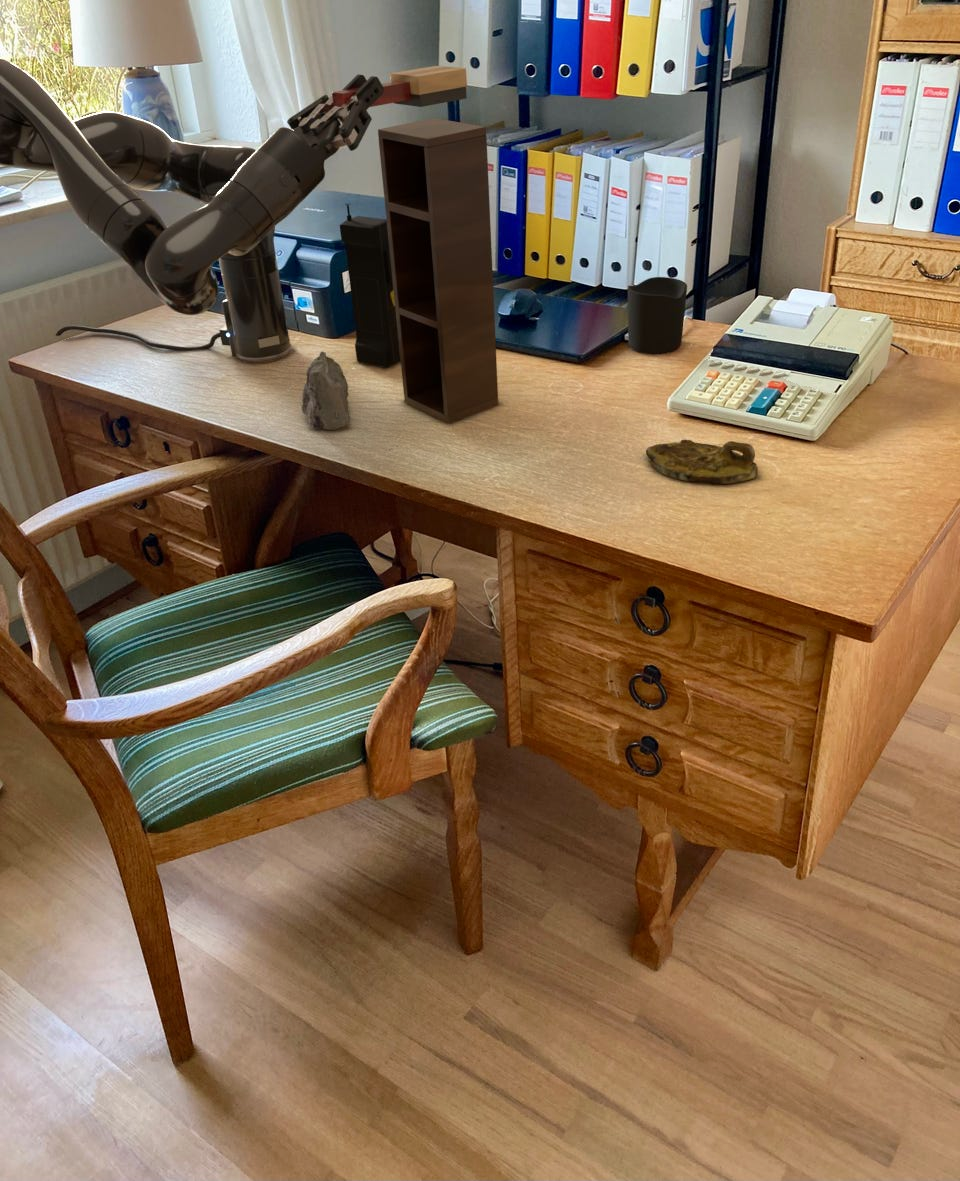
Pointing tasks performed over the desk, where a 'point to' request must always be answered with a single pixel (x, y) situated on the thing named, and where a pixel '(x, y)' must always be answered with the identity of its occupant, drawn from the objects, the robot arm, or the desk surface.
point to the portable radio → (371, 289)
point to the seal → (704, 461)
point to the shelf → (441, 264)
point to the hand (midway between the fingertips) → (371, 82)
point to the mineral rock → (325, 394)
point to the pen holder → (656, 315)
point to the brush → (417, 87)
